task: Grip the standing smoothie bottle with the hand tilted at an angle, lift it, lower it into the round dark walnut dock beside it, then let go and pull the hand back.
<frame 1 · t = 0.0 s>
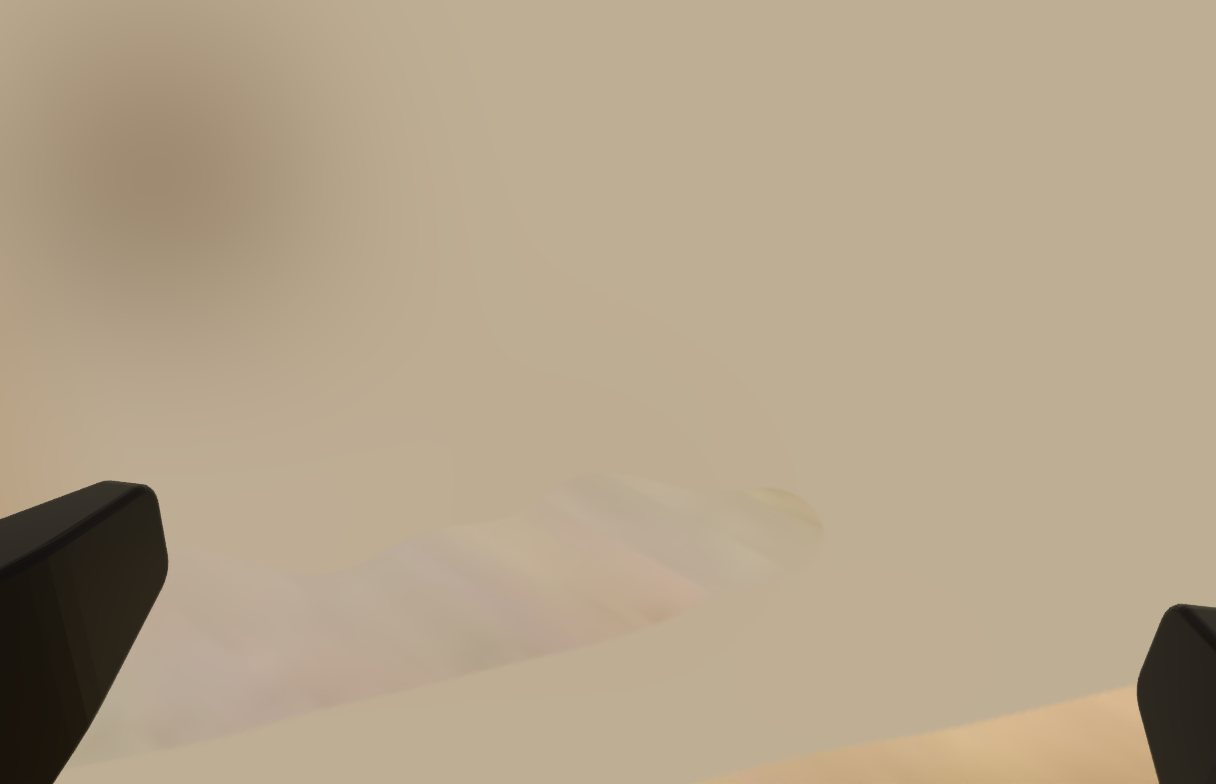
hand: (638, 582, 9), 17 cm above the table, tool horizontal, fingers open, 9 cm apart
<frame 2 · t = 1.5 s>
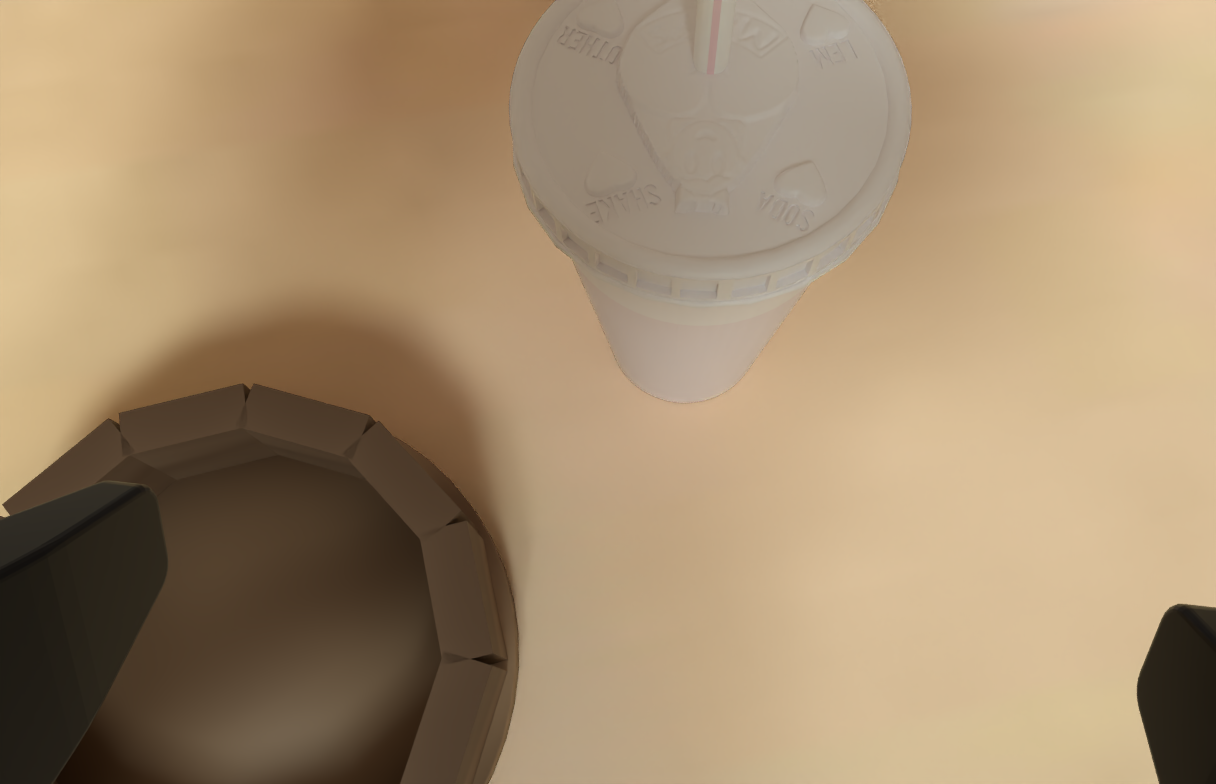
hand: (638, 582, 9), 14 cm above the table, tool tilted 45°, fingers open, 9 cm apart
smoothie: (683, 336, 24), on the table
dock: (264, 662, 22), on the table
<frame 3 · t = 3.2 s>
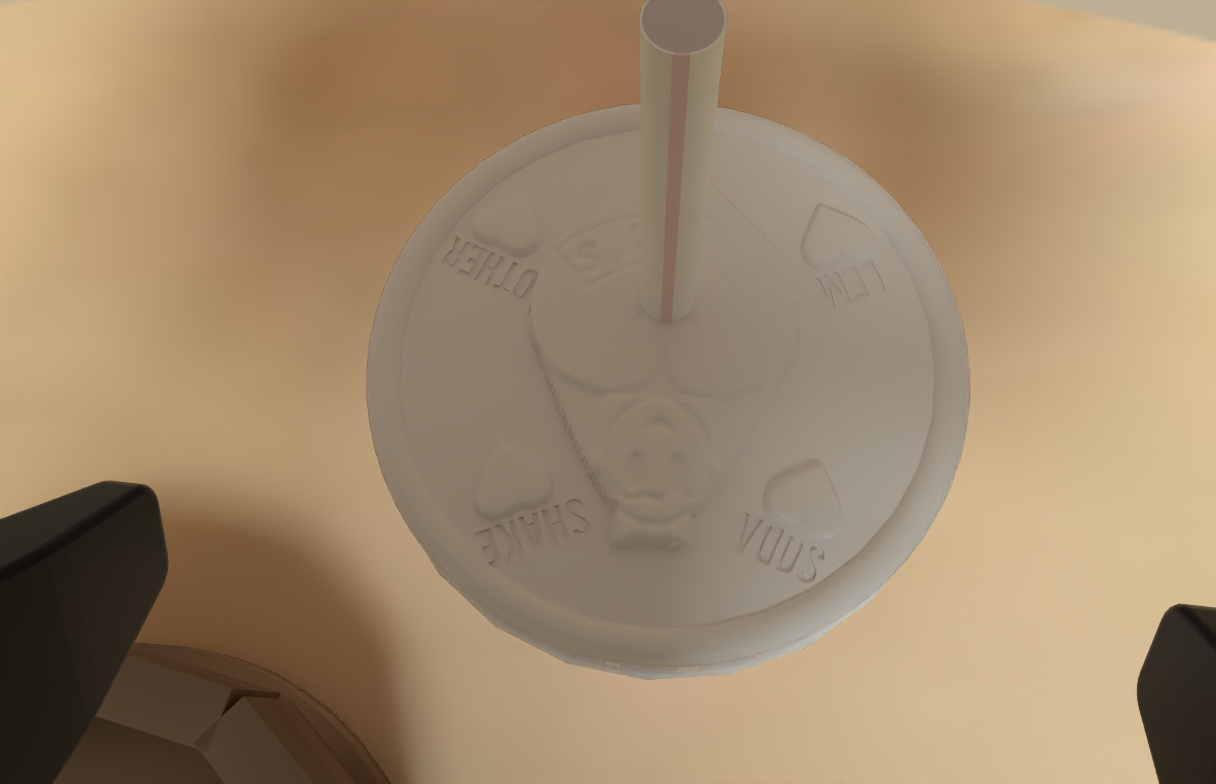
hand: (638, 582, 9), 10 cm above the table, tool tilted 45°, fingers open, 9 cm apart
smoothie: (654, 533, 19), on the table
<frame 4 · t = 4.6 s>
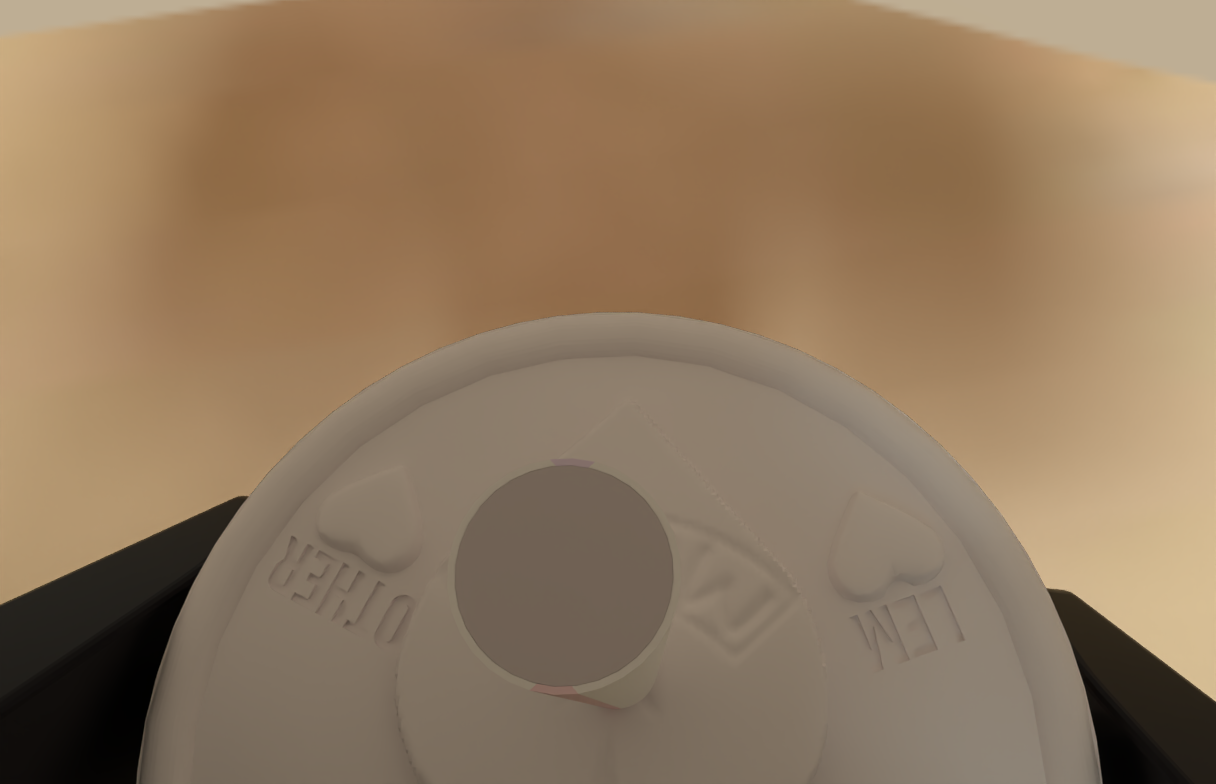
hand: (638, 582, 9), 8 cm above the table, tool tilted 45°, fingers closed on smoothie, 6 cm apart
smoothie: (631, 732, 16), on the table, touching gripper
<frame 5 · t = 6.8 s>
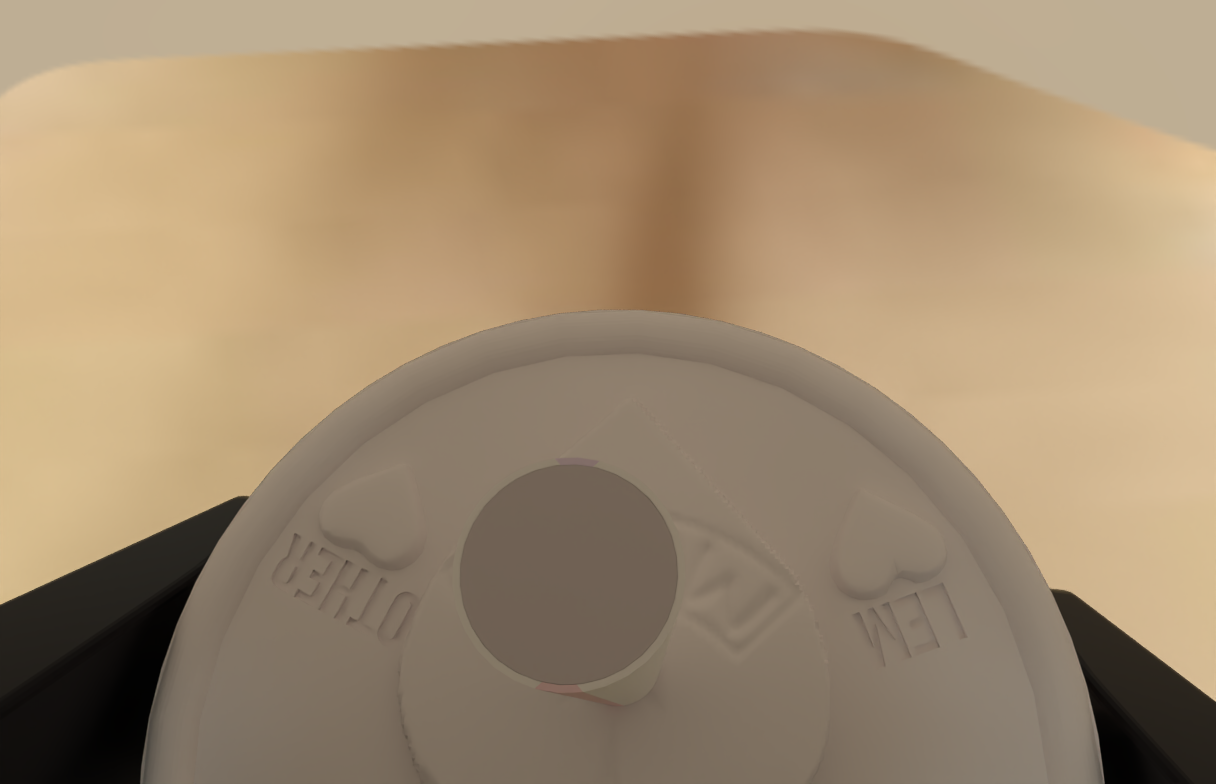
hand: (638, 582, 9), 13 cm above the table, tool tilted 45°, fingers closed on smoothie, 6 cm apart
smoothie: (633, 728, 16), point 6 cm above the table, touching gripper
when the fingers open (10 cm above the table, at t = 9.1 s): smoothie stays where it is, resting on dock.
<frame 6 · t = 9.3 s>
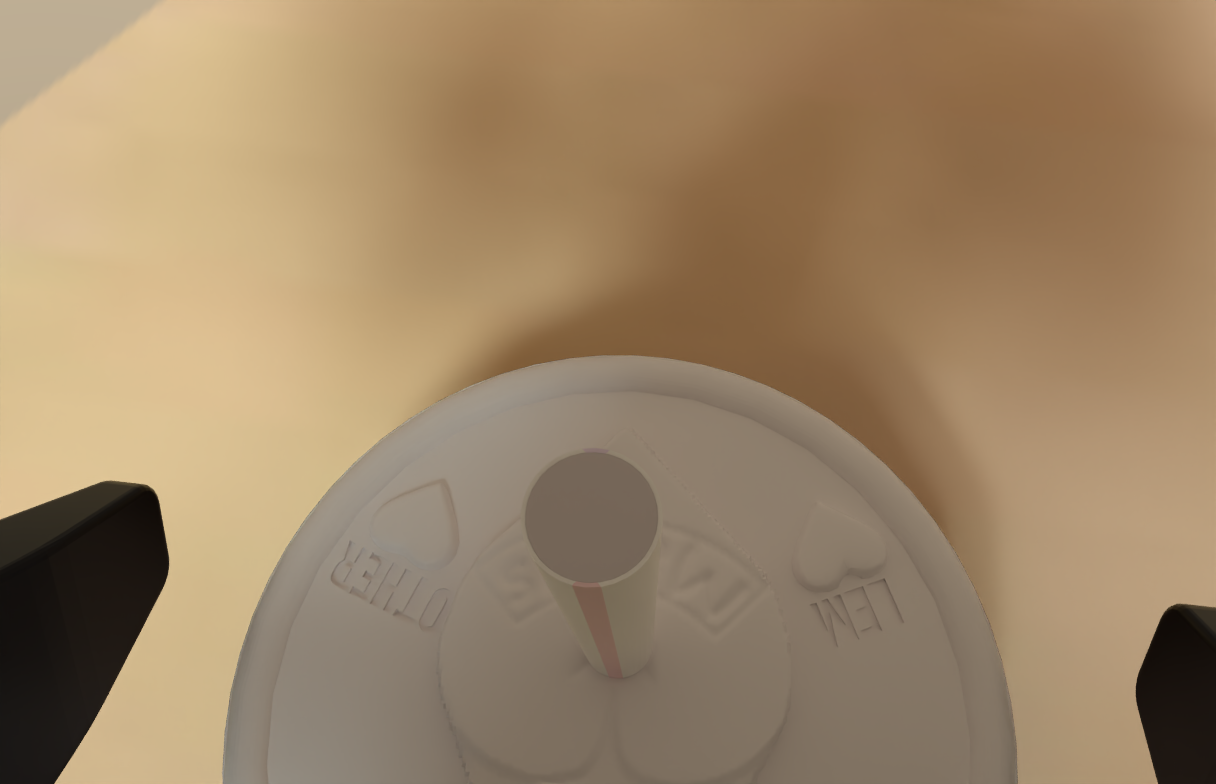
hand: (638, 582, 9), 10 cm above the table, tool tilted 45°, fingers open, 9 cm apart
smoothie: (630, 742, 17), point 1 cm above the table, touching dock
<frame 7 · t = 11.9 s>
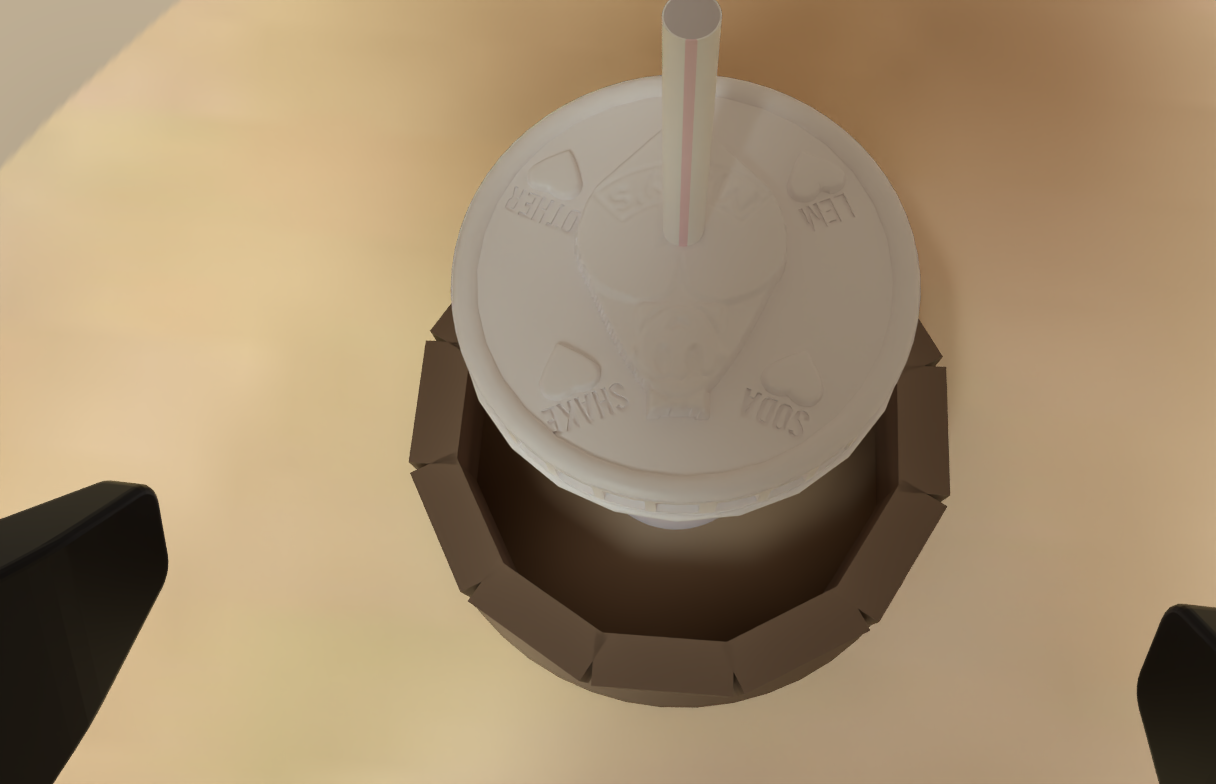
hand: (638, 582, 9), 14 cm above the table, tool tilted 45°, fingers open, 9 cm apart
smoothie: (674, 451, 22), point 1 cm above the table, touching dock
dock: (675, 450, 23), on the table
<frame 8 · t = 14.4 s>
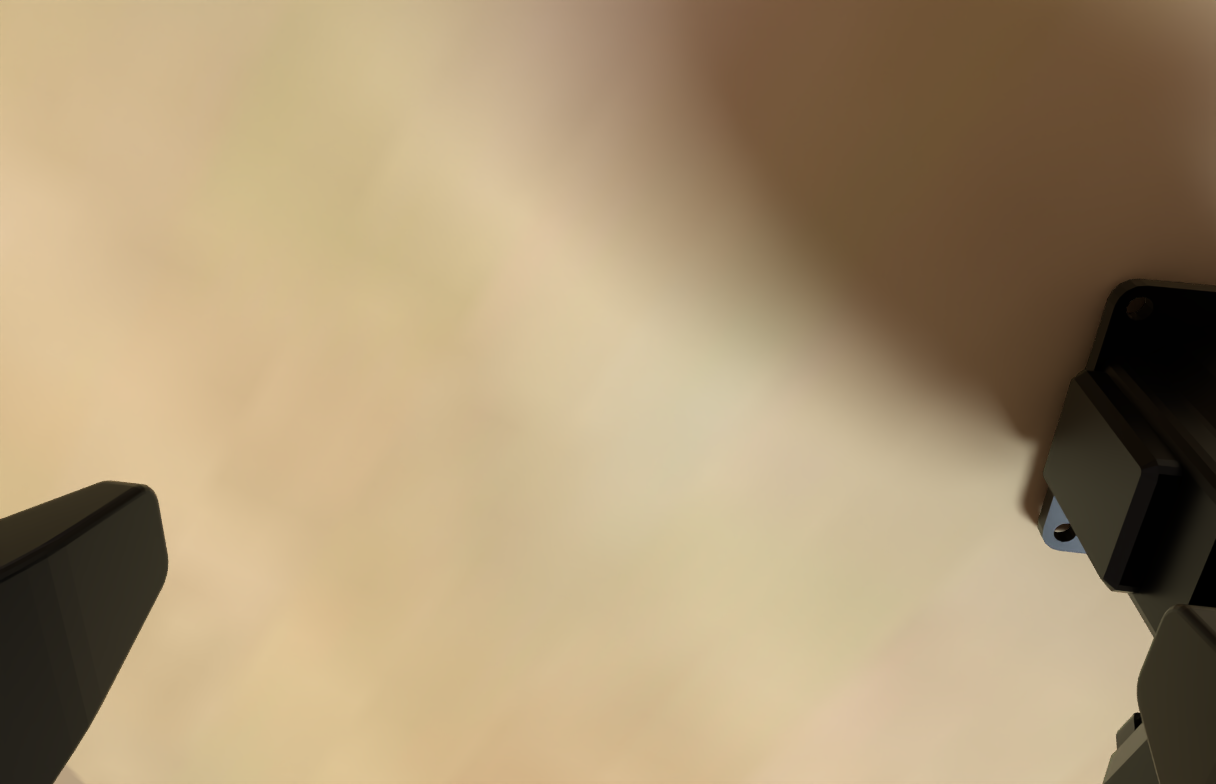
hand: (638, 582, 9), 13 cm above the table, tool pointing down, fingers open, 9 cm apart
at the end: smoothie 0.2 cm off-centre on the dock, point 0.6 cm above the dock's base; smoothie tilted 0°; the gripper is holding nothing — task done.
